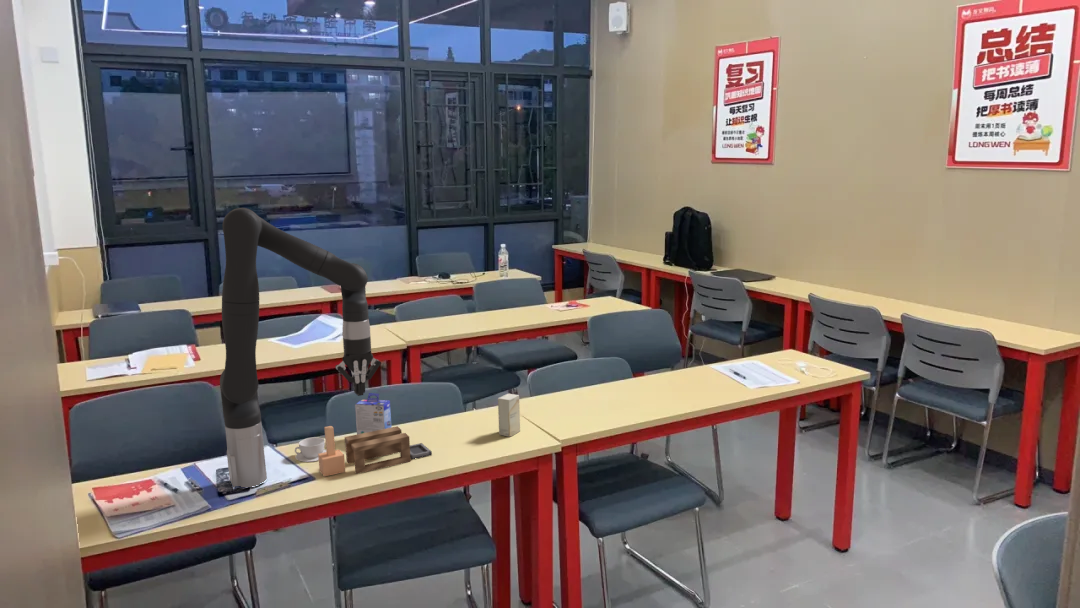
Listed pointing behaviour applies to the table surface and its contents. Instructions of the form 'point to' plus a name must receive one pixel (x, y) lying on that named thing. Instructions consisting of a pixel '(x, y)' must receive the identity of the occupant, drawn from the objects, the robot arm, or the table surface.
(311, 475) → the table surface
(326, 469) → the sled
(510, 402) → the skincare box
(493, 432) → the table surface
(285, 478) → the table surface
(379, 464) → the tunnel
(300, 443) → the teacup
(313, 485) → the table surface
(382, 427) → the ink cartridge box
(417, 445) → the tray
